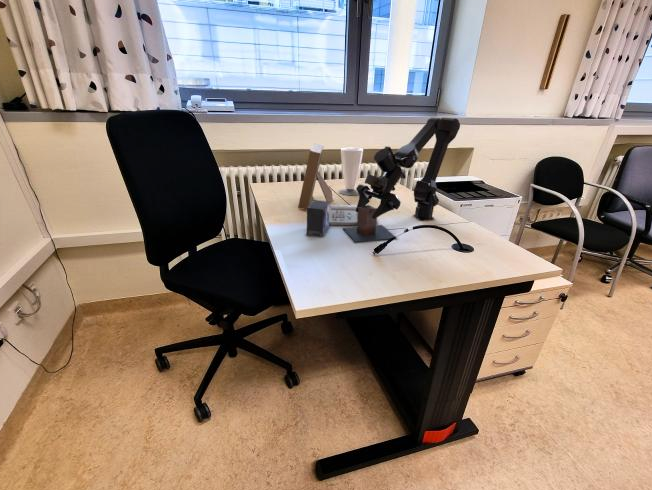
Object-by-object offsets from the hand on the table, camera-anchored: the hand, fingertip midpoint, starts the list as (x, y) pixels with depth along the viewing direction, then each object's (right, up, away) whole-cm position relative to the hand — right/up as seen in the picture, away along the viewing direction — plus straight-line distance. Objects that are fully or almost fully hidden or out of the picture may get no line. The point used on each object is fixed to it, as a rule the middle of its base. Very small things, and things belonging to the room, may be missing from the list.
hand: (364, 214), depth 123 cm
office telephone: (-4, +4, +21) cm, 22 cm away
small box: (-17, -5, +5) cm, 19 cm away
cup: (-3, +23, +56) cm, 61 cm away
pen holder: (+1, -6, +4) cm, 7 cm away
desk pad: (+2, -6, +4) cm, 8 cm away
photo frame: (-19, +13, +37) cm, 44 cm away
